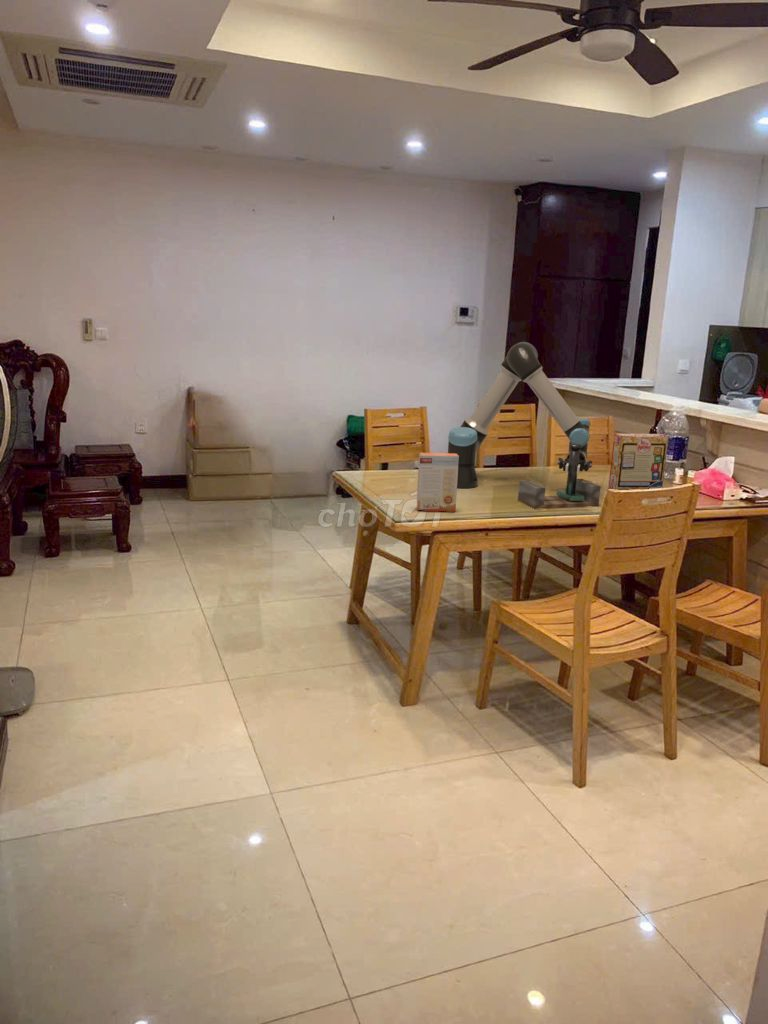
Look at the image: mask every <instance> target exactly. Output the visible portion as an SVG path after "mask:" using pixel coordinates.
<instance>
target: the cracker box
mask: <svg viewBox="0 0 768 1024" xmlns="http://www.w3.org/2000/svg"><path fill="white" fill-rule="evenodd" d="M458 462H459V456H458V455H457V454H455V453H448V452H446V453H445V452H418V466H417V467H418V471H417V492H416V510H417V509H418V510H427V511H426V512H438V511H444V512H443V513H445V511H446V513H456V509H457V492H458V488H457V479H458ZM418 510H417V511H418Z"/></svg>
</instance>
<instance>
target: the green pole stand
mask: <svg viewBox="0 0 768 1024" xmlns="http://www.w3.org/2000/svg"><path fill="white" fill-rule="evenodd" d="M569 447H571V448H570V458H569V467H568V472H567V477H566V478H567V479H566V486H565V489H556V495H558V496H560V497H562V498H564V499H566V500H569V501H584V495H582V494H579V493H577V492H575V490H576V481H577V479H578V474H577V467H578V463H579V454H580V448H582V445H581V444H569V445H568V448H569Z"/></svg>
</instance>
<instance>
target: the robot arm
mask: <svg viewBox="0 0 768 1024" xmlns="http://www.w3.org/2000/svg"><path fill="white" fill-rule="evenodd" d="M538 358H539V353H538V350H537V349H536V347H535V346H534V345H533V344H532V343H530V342H526V341H521V342H518V343H515V344H514V345H512V346H511V347H510V348H509V350H508V351H507V355H506V357H505V358H504V359H503V361H502V363H501V364H500V366H501V367H500V368H501V371H500V372H499V373H498V375H497V377H496V378H495V380H494V381H493V383H492V384H491V386H490V387H489V389H488V391H487V392H486V394H485V395H484V397H483V398H482V399H481V401H480V403H479V404H478V406H477V407H476V409H475V410H474V412H473V413H472V415H471V417H468V418H465V419H464V421H463V422H462V423H461V425H460V426H458V427H457V426H456V427H453V428H452V429H450V430H449V433H448V436H447V437H448V443H447V444H448V445H447V446H448V447H447V453H455V454H457V455H458V456H459V462H458V479H457V489H473V488H476V487H477V486H478V484H479V480H478V475H477V471H476V453H477V451H479V449H480V447H481V446H482V444H483V442H484V440H485V439H486V438H487V436H488V434H489V432H488V428H489V426H490V425H491V423H493V420H494V419H495V418H496V417H497V415H498V414H499V412H500V411H501V409H502V408H503V406H504V404H505V403H506V401H507V400H508V398H509V397H510V395H511V394H512V392H513V391H514V390H515V388H516V386H517V385H518V383H519V382H521V381H522V382H523V383H526V384H527V385H528V386H529V388H530V389H531V390H532V391H533V393H534V394H535V396H536V397H537V399H538V400H539V401H540V402H541V403H542V405H543V406H544V408H545V409H546V410H547V411H548V413H549V414H550V416H551V417H552V418H553V419H554V420H555V422H556V424H557V425H558V426H559V427H560V429H561V430H562V431H563V432H564V434H565V435H566V437H567V438H568V439H569V444H581V445H582V448H580V454H579V463H578V467H577V475H580V472H583V471H584V472H588V471H589V470H590V469H591V468H592V467H593V461H592V460H587V458H588V446H589V441H590V427H591V425H590V419H588V418H584V417H578V416H576V414H575V412H574V411H573V410H572V409H571V407H570V406H569V405H568V403H567V402H566V401H565V399H564V398H563V397H562V395H561V394H560V392H559V391H558V390H557V388H556V387H555V386H554V385H553V383H552V381H550V380H549V378H548V377H547V375H546V374H545V372H544V371H543V366H542V364H541V363H540V362H539V359H538ZM570 448H571V447H569V446H568V451H567V452H568V453H567V456H566V458H561V457H558V459H557V464H558V469H562V471H563V472H564V474H568V467H569V458H570Z"/></svg>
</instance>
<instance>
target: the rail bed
mask: <svg viewBox="0 0 768 1024" xmlns="http://www.w3.org/2000/svg"><path fill="white" fill-rule="evenodd" d="M575 492H577V493H579V494H582V495H584V501H569V500H566V499H564V498H562V497H560V496H558V495H557V494H556V495H555V494H554V495H546V487H545V486H542V485H540V484H537V483H535V482H533V481H531V480H519V483H518V495H517V501H518V502H520V503H521V502H522V503H521V504H523V503H524V505H525V504H526V506H527V505H528V506H527V507H529V506H530V507H529V508H531V507H532V509H533V508H534V509H533V510H536V509H535V508H546V509H562V508H563V509H565V508H568V507H569V508H584V507H585V508H587V506H592V507H599V502H600V495H601V485H600V484H596V483H594V482H593V481H592V480H587V479H584V478H577V481H576V490H575Z"/></svg>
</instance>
